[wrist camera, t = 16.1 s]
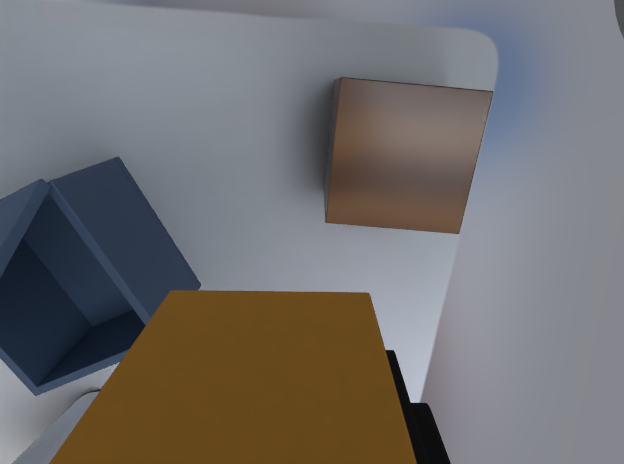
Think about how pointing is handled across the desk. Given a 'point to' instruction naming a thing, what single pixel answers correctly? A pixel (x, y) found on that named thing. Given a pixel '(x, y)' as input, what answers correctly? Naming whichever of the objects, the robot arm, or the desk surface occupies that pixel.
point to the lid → (18, 217)
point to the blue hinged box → (85, 278)
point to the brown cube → (402, 154)
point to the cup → (56, 433)
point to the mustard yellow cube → (249, 386)
